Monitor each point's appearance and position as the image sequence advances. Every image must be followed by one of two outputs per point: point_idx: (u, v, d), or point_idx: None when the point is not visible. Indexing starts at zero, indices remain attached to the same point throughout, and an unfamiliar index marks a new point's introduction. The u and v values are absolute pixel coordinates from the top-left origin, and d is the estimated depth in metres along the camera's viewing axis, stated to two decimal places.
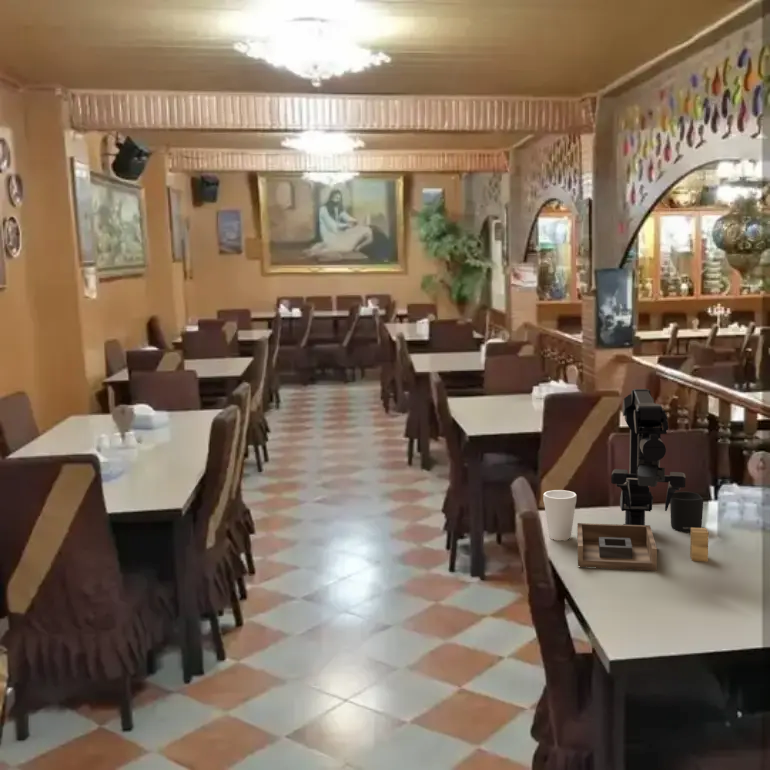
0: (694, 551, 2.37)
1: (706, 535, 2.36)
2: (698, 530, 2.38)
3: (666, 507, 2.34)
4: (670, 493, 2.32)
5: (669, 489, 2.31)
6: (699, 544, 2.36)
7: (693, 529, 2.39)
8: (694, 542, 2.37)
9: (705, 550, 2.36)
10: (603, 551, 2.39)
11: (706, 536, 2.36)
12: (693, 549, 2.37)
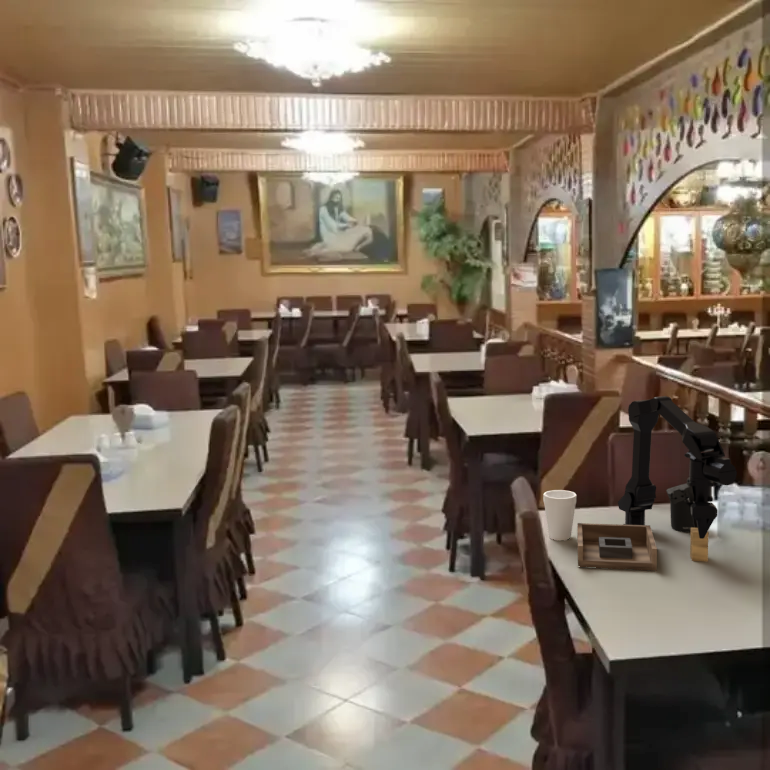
0: (694, 551, 2.37)
1: (706, 535, 2.36)
2: None
3: None
4: (696, 520, 2.32)
5: (691, 514, 2.32)
6: (699, 544, 2.36)
7: (693, 529, 2.39)
8: (694, 542, 2.37)
9: (705, 550, 2.36)
10: (603, 551, 2.39)
11: (706, 536, 2.36)
12: (693, 549, 2.37)
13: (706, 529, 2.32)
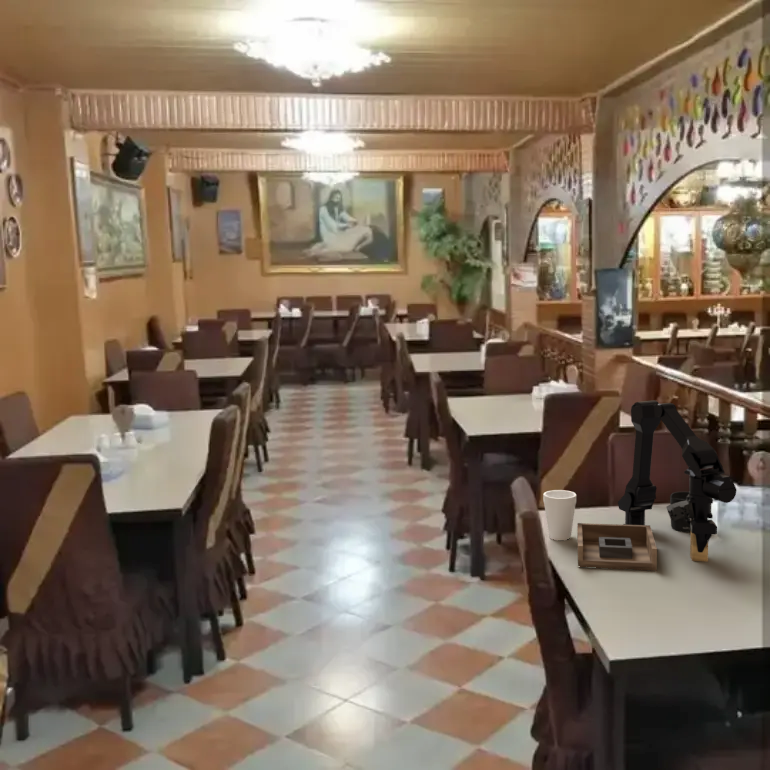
0: (694, 551, 2.37)
1: None
2: None
3: (697, 548, 2.36)
4: (695, 534, 2.35)
5: (690, 529, 2.35)
6: None
7: None
8: (694, 542, 2.37)
9: (705, 550, 2.36)
10: (603, 551, 2.39)
11: None
12: (693, 549, 2.37)
13: (704, 543, 2.35)
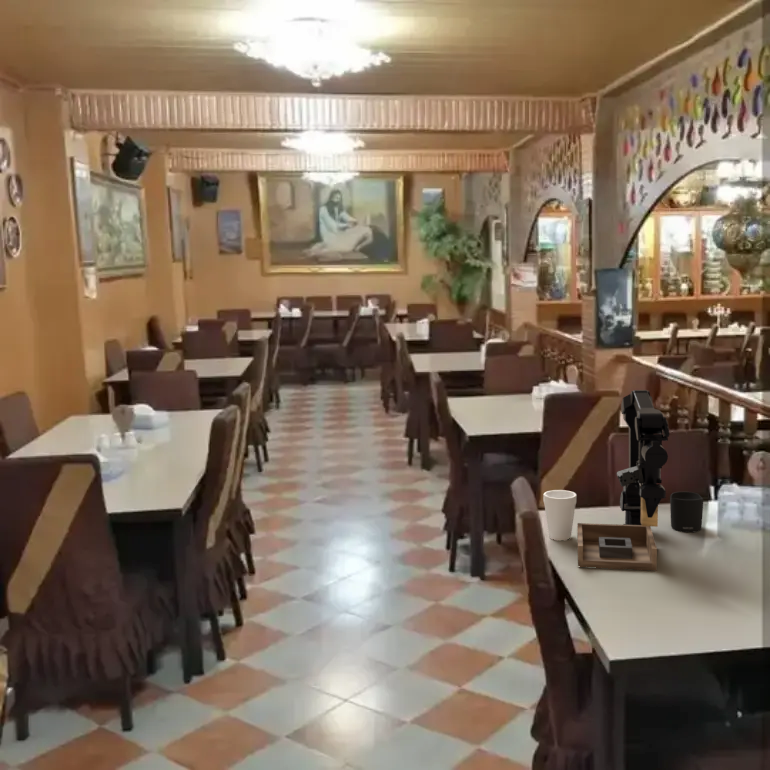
0: (644, 516, 2.38)
1: None
2: None
3: (647, 513, 2.37)
4: (644, 499, 2.36)
5: (640, 494, 2.36)
6: None
7: None
8: (643, 508, 2.37)
9: (655, 515, 2.37)
10: (603, 551, 2.39)
11: None
12: (643, 514, 2.38)
13: (654, 508, 2.36)
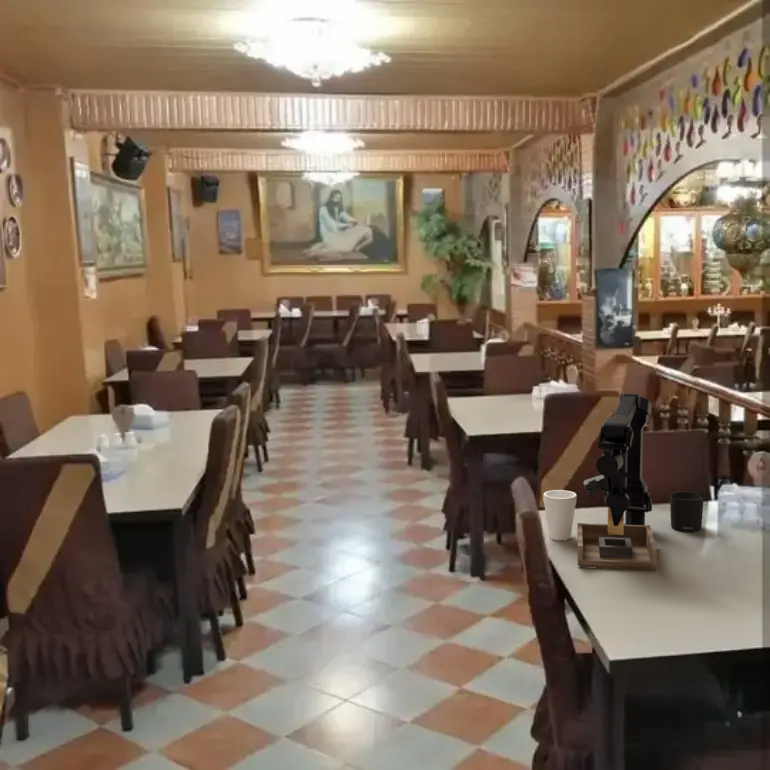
0: (610, 524, 2.40)
1: None
2: None
3: (613, 522, 2.39)
4: (610, 508, 2.38)
5: None
6: None
7: None
8: (609, 516, 2.39)
9: (621, 523, 2.39)
10: (603, 551, 2.39)
11: None
12: (609, 523, 2.40)
13: (620, 517, 2.38)
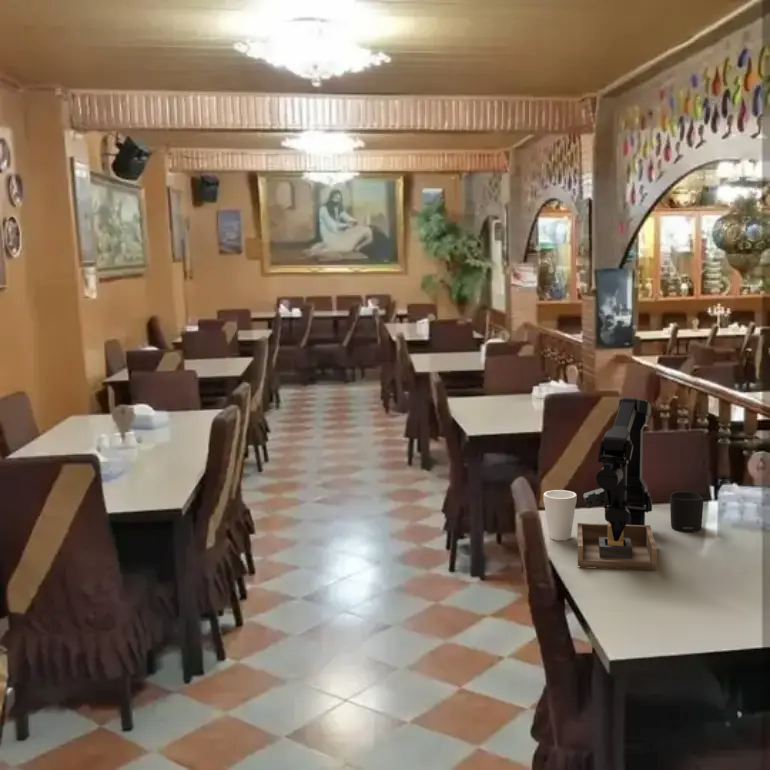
0: None
1: None
2: None
3: (613, 537, 2.38)
4: (610, 523, 2.36)
5: None
6: None
7: (609, 523, 2.42)
8: (609, 536, 2.40)
9: (621, 544, 2.40)
10: (603, 551, 2.39)
11: None
12: (609, 543, 2.40)
13: (620, 532, 2.36)
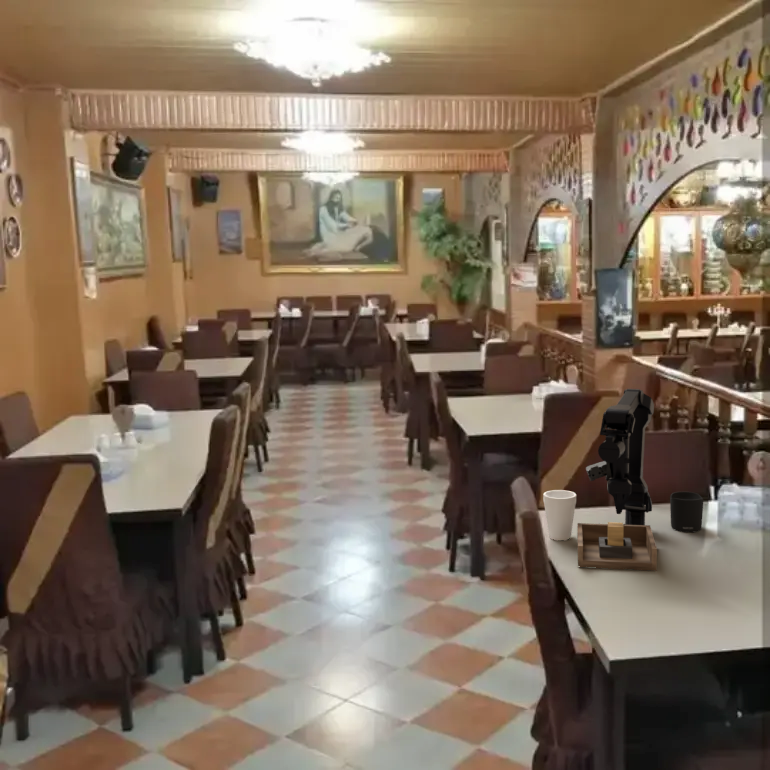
0: None
1: (621, 529, 2.39)
2: (614, 525, 2.41)
3: None
4: (613, 496, 2.38)
5: None
6: (614, 539, 2.40)
7: (609, 524, 2.42)
8: (609, 537, 2.40)
9: (621, 544, 2.40)
10: (603, 551, 2.39)
11: (621, 530, 2.39)
12: (609, 543, 2.40)
13: (622, 505, 2.38)
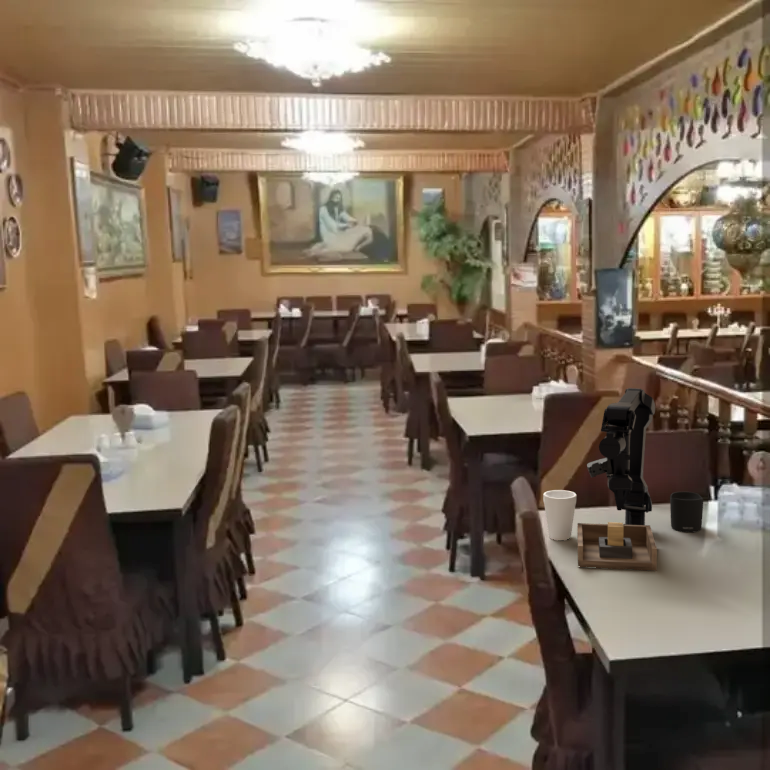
0: None
1: (621, 529, 2.39)
2: (614, 525, 2.41)
3: None
4: (613, 492, 2.39)
5: None
6: (614, 539, 2.40)
7: (609, 524, 2.42)
8: (609, 537, 2.40)
9: (621, 544, 2.40)
10: (603, 551, 2.39)
11: (621, 530, 2.39)
12: (609, 543, 2.40)
13: (623, 501, 2.39)
